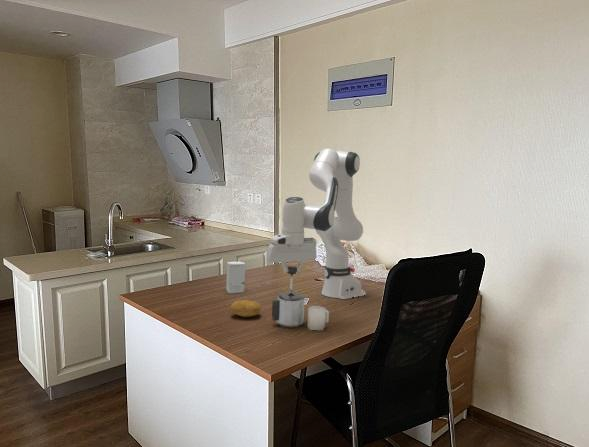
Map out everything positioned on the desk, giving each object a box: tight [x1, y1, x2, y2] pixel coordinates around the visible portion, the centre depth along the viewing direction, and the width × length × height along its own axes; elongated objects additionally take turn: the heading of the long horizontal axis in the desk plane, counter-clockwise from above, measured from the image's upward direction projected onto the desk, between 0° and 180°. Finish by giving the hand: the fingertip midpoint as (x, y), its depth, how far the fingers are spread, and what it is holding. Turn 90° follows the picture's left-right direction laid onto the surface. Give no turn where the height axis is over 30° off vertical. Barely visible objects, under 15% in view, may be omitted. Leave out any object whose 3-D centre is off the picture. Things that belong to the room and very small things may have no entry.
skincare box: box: [225, 261, 246, 294], centre depth 219 cm, size 8×6×15 cm
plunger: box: [286, 265, 297, 301], centre depth 177 cm, size 8×8×15 cm
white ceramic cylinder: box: [306, 305, 330, 331], centre depth 174 cm, size 8×7×8 cm
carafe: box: [271, 290, 305, 328], centre depth 178 cm, size 13×11×12 cm
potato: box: [230, 299, 262, 318], centre depth 185 cm, size 9×13×7 cm
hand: (291, 272), depth 176 cm, fingers closed on plunger, 4 cm apart
